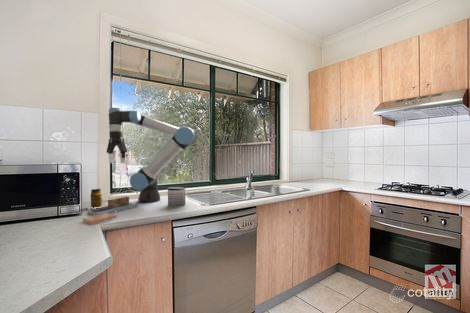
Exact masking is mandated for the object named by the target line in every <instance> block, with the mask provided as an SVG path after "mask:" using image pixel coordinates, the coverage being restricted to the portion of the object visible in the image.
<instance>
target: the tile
mask: <svg viewBox="0 0 470 313" xmlns="http://www.w3.org/2000/svg"><path fill="white" fill-rule="evenodd" d="M112 218H116V219H117V214H113V213H104V214H99V215H91V216H86V217H83V218H82V222H83V223H86V224H89V225H93V226H94V225H98V224H100V223H99V222H101V223H103V222H102V221H105V220H109V219H112ZM109 221H110V220H109ZM105 222H106V221H105Z"/></svg>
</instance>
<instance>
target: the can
mask: <svg viewBox="0 0 470 313" xmlns="http://www.w3.org/2000/svg"><path fill="white" fill-rule="evenodd" d="M167 204H168V205H167V206H168V207H169V208H181V207H184V206H186V188H185V187H181V186H180V187H179V186H172V187H170V186H169V187H168V188H167Z"/></svg>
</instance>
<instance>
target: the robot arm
mask: <svg viewBox="0 0 470 313" xmlns="http://www.w3.org/2000/svg"><path fill="white" fill-rule="evenodd" d="M108 122H109V123H108V128H109V139H108V142H107V149H106V153H107V154H108V164H114V150H115V148H116V147H117V148H118V150H119V152H120V153H119V155H120V156H119V157H120V158H119V159H120V164H126V153H128V149H127V147H126V142H125V138H123V132H122V131H123V124H122V123H130V124H131V123H132V124H134V125H137V126H141V127H144V128H146V129H149V130H152V131H155V132H157V133H161V134H164V135H166V136H169V137H171V139H170V140H171V141H170V142H169V143H168V144H167V145H166V146H165V147H164V148H163V149H162V150H161V151H160V152H159V153H158V154H157V155H156V156H155V157H154V159H152V160H151V161H150V163H148V164H147V165H146V166H142V167H141V168H140V169H139V170H138V171H137V172H135V173H133V174H132V175H131V176H130V177H129V184H130V186H131V188H132V189H133V190H135V191H139V195H138V198H137V201H138V203H140V204H142V203H144V204H145V203H146V204H147V203H149V204H150V203H155V202H159V201H161V195H160V192H159V190H158V174H159V173H160V172H161V171H162V170H164V168H166V166H167V165H168V164H169V163H170V162H171V161H172V160H173V159H174V158H175V157H176V156H177V155H178V154H179V153H180V152H181V151H185V150H186V149H187V148H188V147H189V146H191V145H193V144H194V143H196V141H197V137H198V136H197V132H196V131H195V130H194V129H192V128H191V127H189V126H181V127H178V126H175V125H172V124H169V123H166V122H162V121H159V120H158V119H154V118H151V117H148V116H145V115H142V114H141V113H140V111H138V110H122V108H119V107H110V108H108Z"/></svg>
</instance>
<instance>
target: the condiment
mask: <svg viewBox="0 0 470 313" xmlns="http://www.w3.org/2000/svg"><path fill="white" fill-rule="evenodd" d="M90 191H91V192H90V207H93V208H94V207H100V206H103V204H102V202H103V200H102V193H101V189H100V188H94V189H91V190H90Z"/></svg>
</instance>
